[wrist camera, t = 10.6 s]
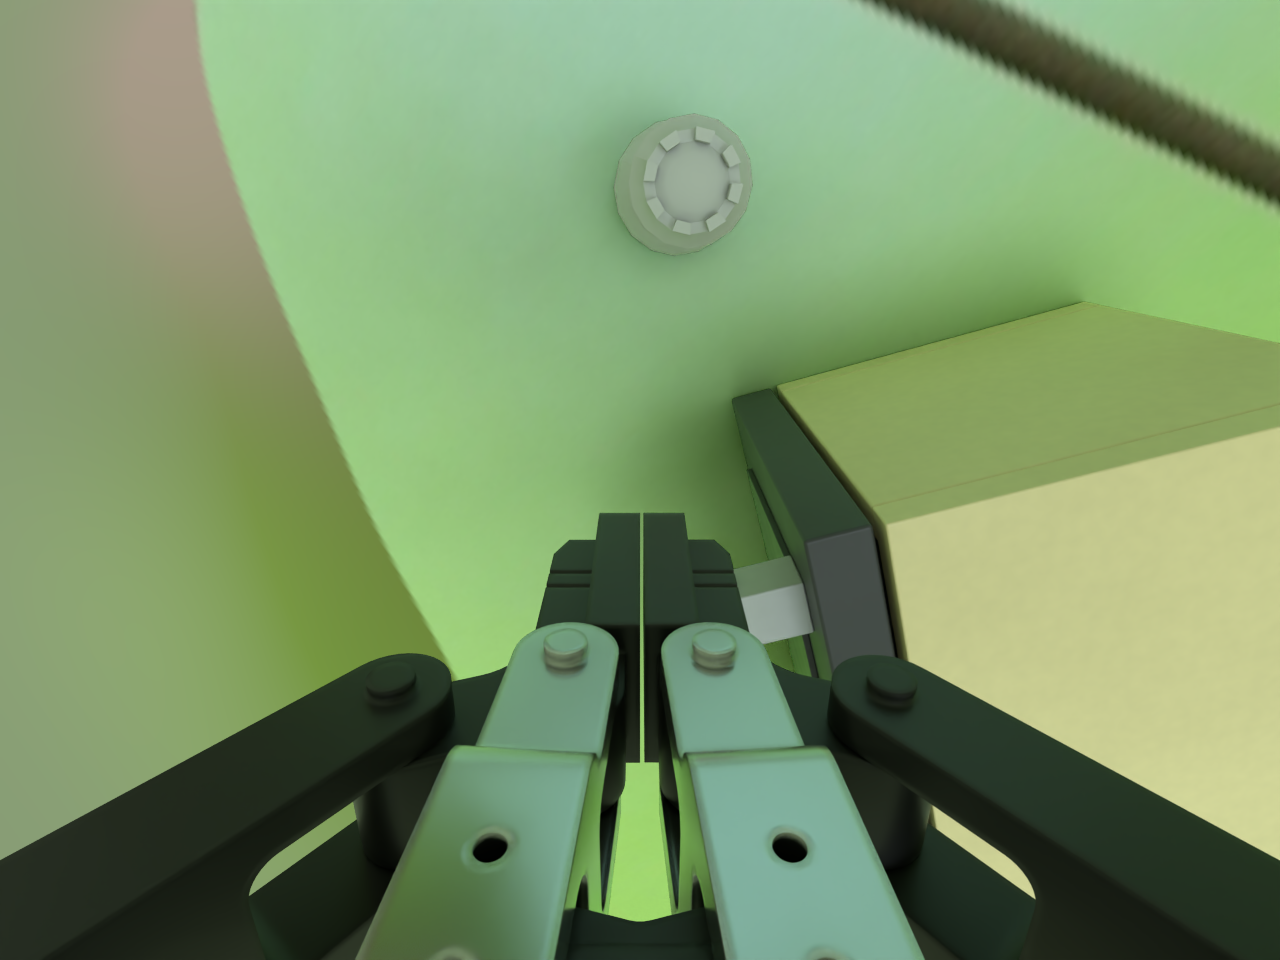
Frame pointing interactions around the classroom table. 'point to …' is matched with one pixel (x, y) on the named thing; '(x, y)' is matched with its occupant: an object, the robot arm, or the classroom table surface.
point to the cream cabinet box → (1083, 540)
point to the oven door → (807, 549)
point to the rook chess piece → (683, 184)
